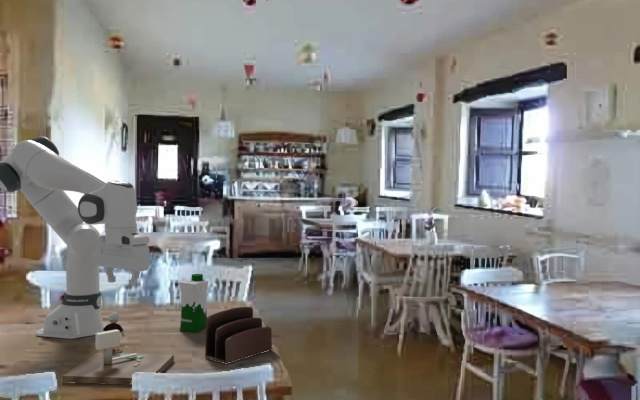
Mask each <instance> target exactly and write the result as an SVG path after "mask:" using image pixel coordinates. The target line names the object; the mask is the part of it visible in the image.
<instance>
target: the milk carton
mask: <svg viewBox="0 0 640 400" xmlns="http://www.w3.org/2000/svg"><path fill="white" fill-rule="evenodd" d="M178 286H179V289H180V290H179V291H180V324H179V325H180V326H179V327H180V328H179V331H180V332H186V333H190V332H191V333H190V334H197V333H200V332H202V330H203V331H205V330H204V329H205V328H206V318H207V317H208V316H207V315H208V314H207V313H208V312H207V311H208V307H207V306H208V303H207V302H208V301H207V298H208V297H207V296H208V295H207V294H208V286H209V280H206V279H204V275H203V274H202V273H194V274H193V273H192V274H191V279H184V280H181V281H178ZM199 331H200V332H199ZM196 332H197V333H196Z"/></svg>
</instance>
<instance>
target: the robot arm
mask: <svg viewBox="0 0 640 400" xmlns="http://www.w3.org/2000/svg"><path fill="white" fill-rule="evenodd" d="M0 189H1V190H3V191H5V192H7V193H15V192H17V191H20V192H21V193H22V195H23V196H24V197H25V199H26V200H27V201H28V202H29V204H30V205H31V206H32V208H33V209H34V210H35V211H36V212H37V213H38V214H39V216H40V217H41V218H42V220H43V221H45V223H46V224H47V225H48V226H49V227H50V228H51V229H52V230H53V231H54V232H55V234H56V235H57V236H58V237H59V238H60V240H61V241H63V242H64V244H65V245H66V272H65V275H66V277H65V279H66V280H65V281H66V283H65V284H66V285H65V286H66V287H65V288H66V292H65V293H64V294H63V295H61V296H59V301H61V304H60V305H58V306H57V307H55V309H53V310H52V311H50V312H49V313H48V314H47V315H46V316H45V319H44V321H43V327H42V328H40V329H38V330H37V332H36V336H37V337H46V338H47V337H48V338H58V339H69V340H74V339H78V338H84V337H90V336H95V333H100V332H103V328H104V327H105V326H104V323H103V319H102V312H101V307H102V293H101V291H100V268H101V267H104V273H105V275H106V277H107V282H108V283H116V275H114V269H116V270H117V269H118V270H124V271H130V274H131V277H130V279H128V286H131V287H136V286H137V285H138V279H139V277H140V274H141V272H144V271H146V272H147V271H148V270H149V268H150V266H151V254H150V247H149V245H148V244H150V237H149V236H148V235H147V234H145V233H143V232H141V231H140V230H139V229H138V223H137V221H136V217H137V213H138V212H137V210H138V207H137V206H138V203H137V193H136V189H135V186H134V185H133V184H132V183H131V182H128V181H125V180H124V181H123V180H109V181H108V182H105V181H103V180H101V179H100V178H98V177H96V176H95V175H93V174H91V173H89V172H87V171H85V170H84V169H82V168H81V167H79V166H77V165H74V164H73V163H71V162H70V161H68V160H66V159H65V158H63V156H60V152H59V150H58V147H57V146H56V144H55V143H54V142H53V141H52V140H51V139H50V138H48V137H46V136H42V135H38V136H37V137H34V138H31V139H25V140H22V141H20V142H18V143H17V144H16V145H15V146H14V147H13V148H12V151H11V153H9V154H8V155H7V156H6V157H4V159H2V160H1V161H0ZM65 191H67V192H75V193H80V194H83V195H82V196H81V198H80V199H79V201H78V205H76V204H75V202H74V201H73V200H72V199H71V198H70V196H69V195H68V194H67V193H66V192H65ZM93 225H104V226H105V227H104V230H105V235H104V234H103V235H101V233H100V232H99V230H98V229H97V228H96V227H94V226H93Z"/></svg>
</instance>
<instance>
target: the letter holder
mask: <svg viewBox="0 0 640 400" xmlns="http://www.w3.org/2000/svg"><path fill="white" fill-rule="evenodd" d="M204 333H205V335H204V336H205V337H204V338H205V344H204V345H205V348H204V349H205V352H204V353H205V354H204V358H205V359H206V358H208V359H207V360H209V359H212V360H216V361H220V362H224V363H228V362H232V361H235V360H238V359H242V358H245V357H248V356H251V355H255V354H258V353H261V352H264V351H267V350H271V349H272V350H273V338H272V337H273V335H272V328H271V327H270V326H263V319H262V317H254V309H253V307H252V306H242V307H241V306H240V307H234V308H229V309H226V310H221V311H218V312H216V313H213V314H210V315H209V316H207V318H206V328H205V330H204ZM212 360H211V361H212ZM216 361H215V362H216Z"/></svg>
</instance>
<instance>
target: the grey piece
mask: <svg viewBox="0 0 640 400" xmlns="http://www.w3.org/2000/svg"><path fill="white" fill-rule="evenodd" d="M120 334H121V333H120V331H119V330H117V329H116V330H111V331H105V332H100V333H95V335H94V336H95V338H94V339H95V340H94V341H95V349H96V350H98V351H100V350H103V351H102V353H103V364H112V361H116V360H121V359H125V358H130V357H135V356H137V354H138V353H136V352H134V353H135V354H130V355H125V356H121V357H116V358H112V353H113V352H112V347H116V346H120V347H121V339H120V338H121V335H120Z"/></svg>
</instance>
